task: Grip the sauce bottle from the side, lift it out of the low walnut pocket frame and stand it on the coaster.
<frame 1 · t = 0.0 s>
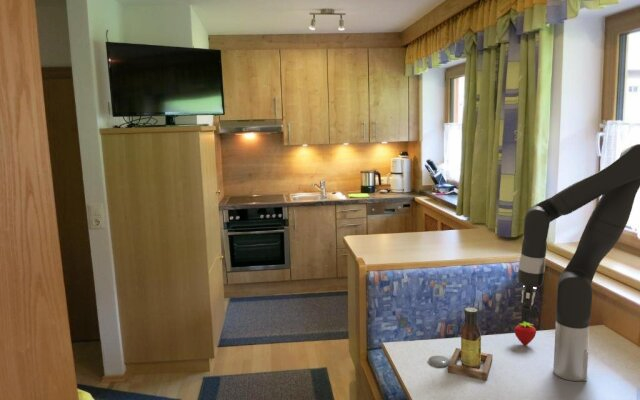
hand: (525, 316, 151), 17 cm above the table, tool pointing down, fingers open, 8 cm apart
strawberry: (524, 345, 168), on the table
pocket frame: (470, 366, 154), on the table
sauce bottle: (470, 367, 154), resting in pocket frame
coaster: (439, 362, 158), on the table
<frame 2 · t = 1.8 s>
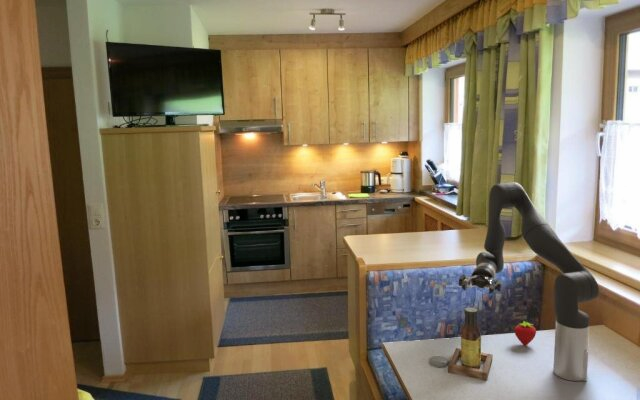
hand: (477, 289, 160), 23 cm above the table, tool horizontal, fingers open, 8 cm apart
nothing on the table moved.
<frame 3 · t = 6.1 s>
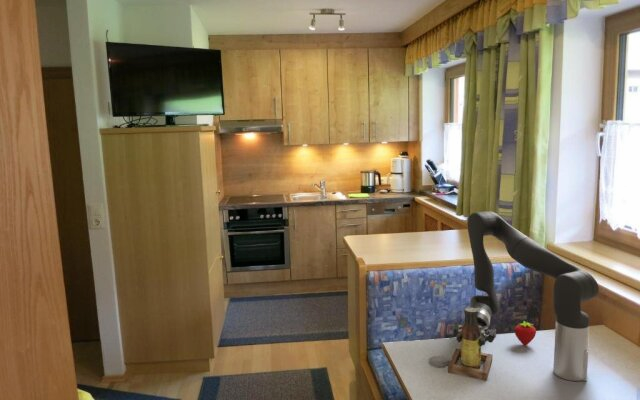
hand: (470, 341, 151), 10 cm above the table, tool horizontal, fingers closed on sauce bottle, 6 cm apart
sauce bottle: (470, 367, 154), resting in pocket frame, touching gripper
everything else where it was.
when the fingers open (12 cm above the table, at t = 10.1 s): sauce bottle drops 2 cm, resting on coaster.
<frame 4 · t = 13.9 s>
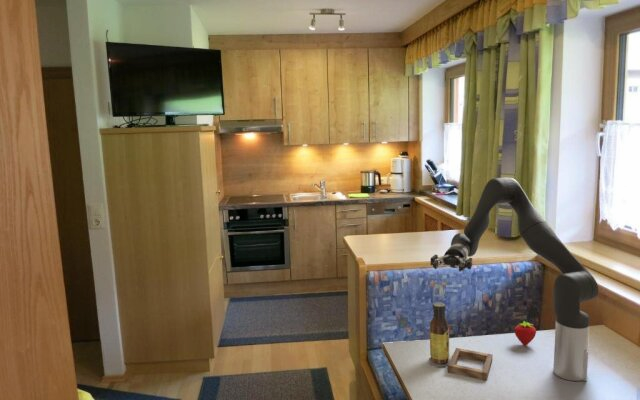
hand: (447, 267, 163), 30 cm above the table, tool horizontal, fingers open, 8 cm apart
sauce bottle: (439, 360, 158), resting on coaster
everything else where it was.
at the end: sauce bottle inside the target area on the coaster (0.2 cm from its centre), point 0.4 cm above the coaster's base; sauce bottle tilted 1°; the gripper is holding nothing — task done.
